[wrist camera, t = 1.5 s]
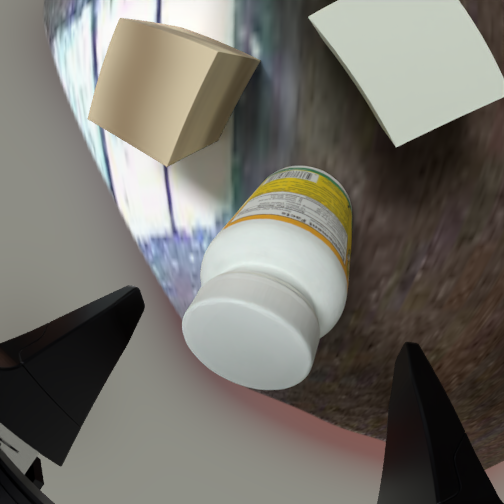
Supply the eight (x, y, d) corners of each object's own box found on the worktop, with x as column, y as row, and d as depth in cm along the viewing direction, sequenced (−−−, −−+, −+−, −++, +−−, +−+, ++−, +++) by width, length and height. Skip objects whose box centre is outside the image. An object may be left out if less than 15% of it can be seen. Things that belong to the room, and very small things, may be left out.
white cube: (462, 88, 9) (510, 94, 5) (381, 127, 12) (396, 147, 8) (406, -1, 8) (429, -37, 4) (322, 40, 11) (307, 16, 7)
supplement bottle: (298, 142, 14) (217, 232, 6) (373, 214, 14) (380, 368, 7) (237, 210, 17) (140, 329, 9) (305, 269, 18) (258, 412, 10)
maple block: (261, 60, 12) (217, 51, 8) (218, 140, 15) (167, 167, 11) (182, 27, 12) (119, 18, 8) (149, 103, 15) (87, 119, 11)
